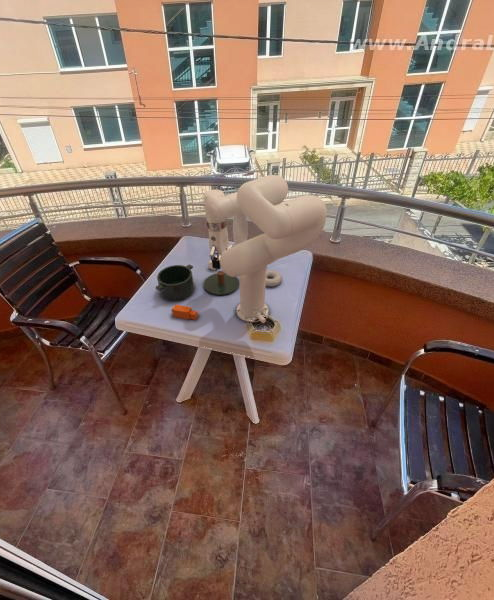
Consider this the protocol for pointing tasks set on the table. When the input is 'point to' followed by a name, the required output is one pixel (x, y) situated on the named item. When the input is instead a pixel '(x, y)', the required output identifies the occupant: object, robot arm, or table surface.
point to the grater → (240, 228)
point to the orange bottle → (184, 312)
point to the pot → (176, 282)
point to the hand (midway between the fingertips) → (220, 261)
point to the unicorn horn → (216, 257)
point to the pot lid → (221, 283)
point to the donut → (275, 276)
